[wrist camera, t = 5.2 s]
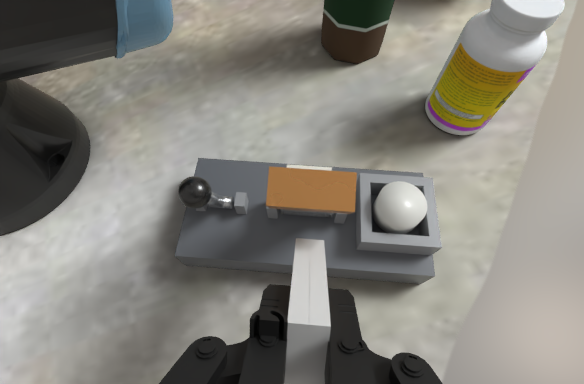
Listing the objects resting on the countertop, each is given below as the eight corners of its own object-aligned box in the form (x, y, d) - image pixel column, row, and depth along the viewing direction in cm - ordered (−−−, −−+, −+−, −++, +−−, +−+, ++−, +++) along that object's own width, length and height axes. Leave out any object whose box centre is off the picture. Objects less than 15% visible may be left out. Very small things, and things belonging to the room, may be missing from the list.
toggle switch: (233, 215, 27) (204, 208, 19) (209, 213, 27) (170, 206, 19) (235, 191, 27) (208, 174, 19) (211, 189, 27) (174, 172, 19)
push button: (420, 236, 25) (429, 227, 23) (372, 233, 25) (379, 223, 23) (415, 194, 26) (424, 183, 25) (371, 191, 27) (377, 179, 25)
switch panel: (420, 284, 27) (446, 269, 23) (185, 265, 28) (165, 248, 23) (411, 188, 31) (431, 160, 27) (206, 174, 32) (192, 145, 27)
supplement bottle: (479, 146, 33) (577, 37, 22) (416, 125, 35) (477, 11, 23) (490, 101, 36) (582, -17, 25) (431, 83, 37) (493, -38, 26)
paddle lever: (330, 220, 27) (354, 211, 15) (281, 216, 27) (266, 205, 15) (331, 198, 27) (357, 172, 15) (283, 195, 27) (269, 166, 15)
